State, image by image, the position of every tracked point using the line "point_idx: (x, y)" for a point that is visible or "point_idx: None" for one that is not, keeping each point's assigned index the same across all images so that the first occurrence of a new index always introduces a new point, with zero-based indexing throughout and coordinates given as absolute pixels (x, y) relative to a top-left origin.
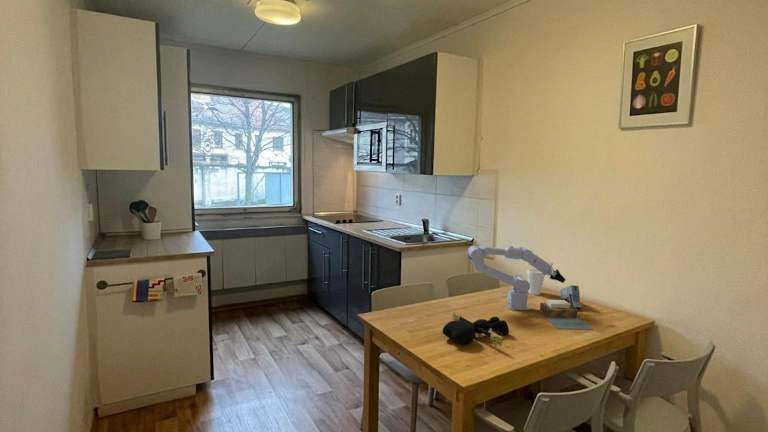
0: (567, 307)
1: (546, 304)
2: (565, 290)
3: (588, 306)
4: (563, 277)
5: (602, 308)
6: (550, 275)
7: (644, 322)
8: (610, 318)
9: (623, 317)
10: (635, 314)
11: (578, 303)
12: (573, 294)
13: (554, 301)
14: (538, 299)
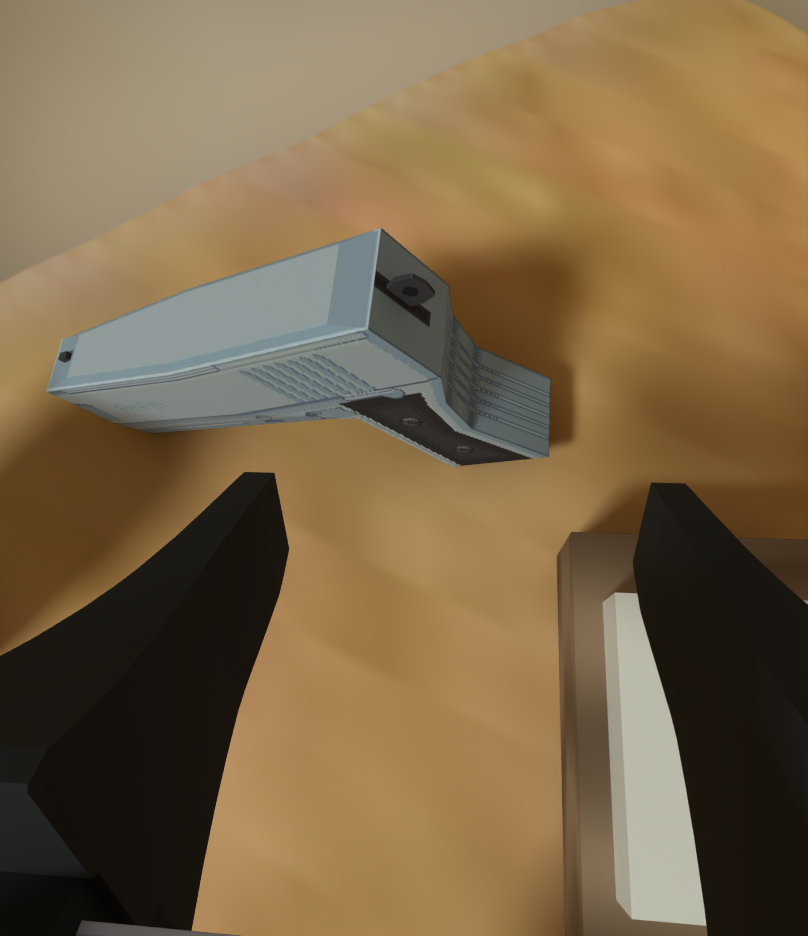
0: None
1: None
2: (215, 391)
3: None
4: (733, 536)
5: (458, 181)
6: (233, 717)
7: (800, 33)
8: (743, 233)
9: (696, 123)
10: (604, 14)
11: (508, 386)
12: (445, 378)
13: None
14: None
